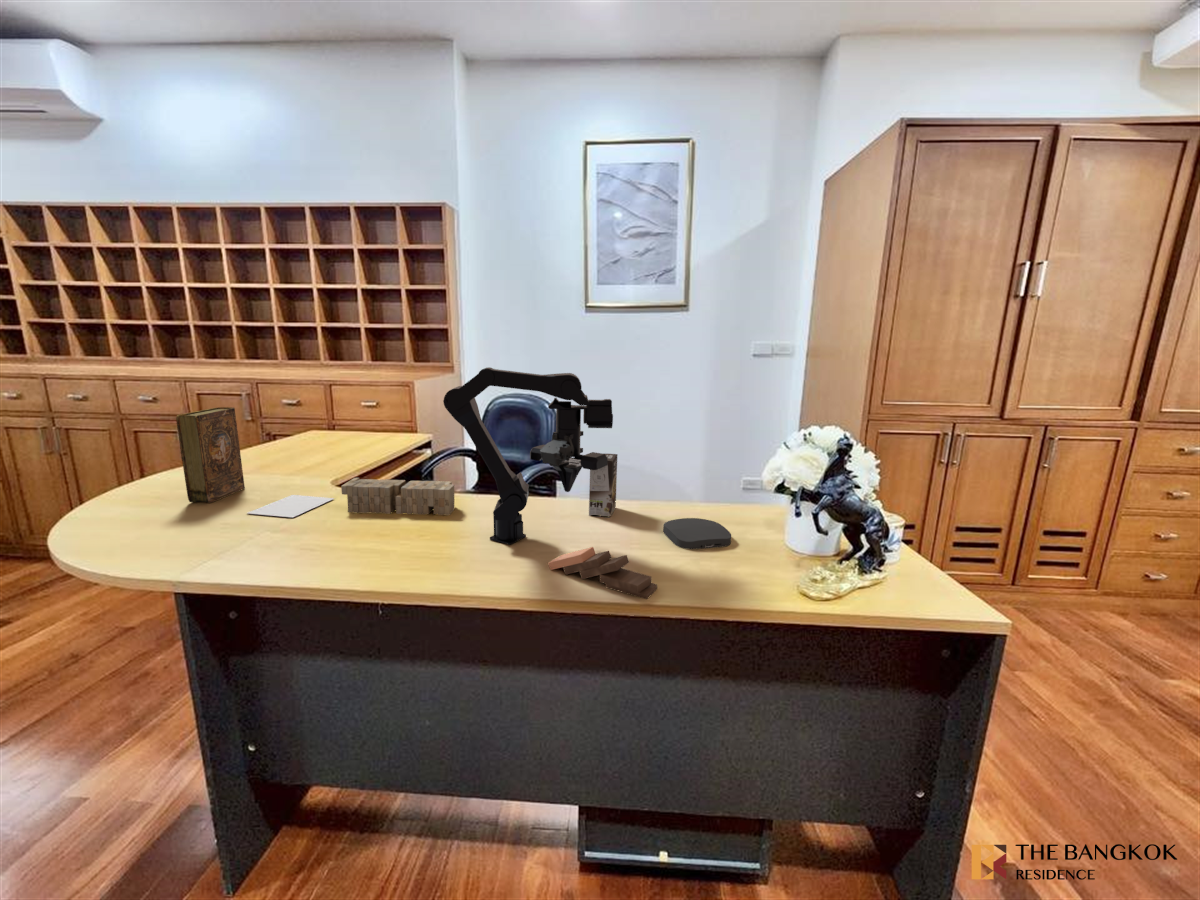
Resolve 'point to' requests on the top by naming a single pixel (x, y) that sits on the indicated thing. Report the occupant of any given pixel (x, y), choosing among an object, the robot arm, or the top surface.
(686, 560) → the top surface
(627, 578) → the walnut domino
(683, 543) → the media streaming box
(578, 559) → the terracotta domino
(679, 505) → the top surface
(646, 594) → the walnut domino
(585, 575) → the walnut domino
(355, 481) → the block tower
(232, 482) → the book
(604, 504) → the coffee box
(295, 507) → the paper stack
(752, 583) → the top surface
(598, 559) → the walnut domino
